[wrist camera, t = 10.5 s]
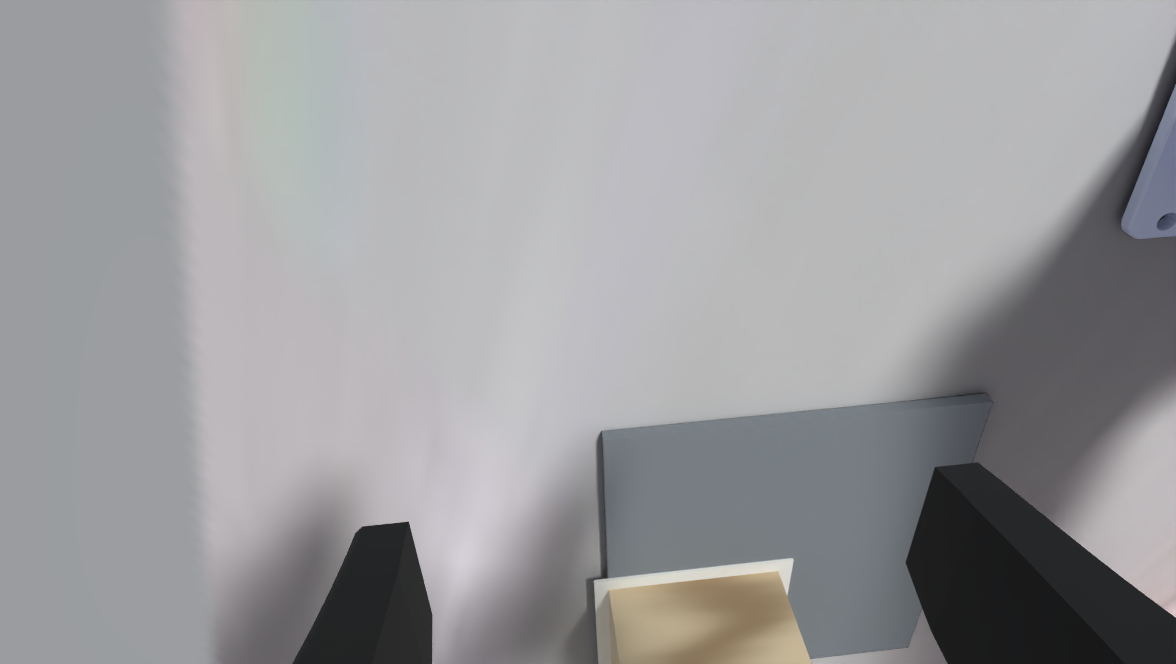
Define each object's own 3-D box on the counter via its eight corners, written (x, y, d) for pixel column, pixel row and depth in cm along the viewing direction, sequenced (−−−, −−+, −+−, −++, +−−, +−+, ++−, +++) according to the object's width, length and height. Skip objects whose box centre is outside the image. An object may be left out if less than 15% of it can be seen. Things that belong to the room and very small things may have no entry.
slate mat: (986, 393, 25) (994, 403, 24) (901, 645, 32) (906, 656, 32) (585, 432, 24) (586, 444, 23) (598, 681, 32) (599, 693, 31)
